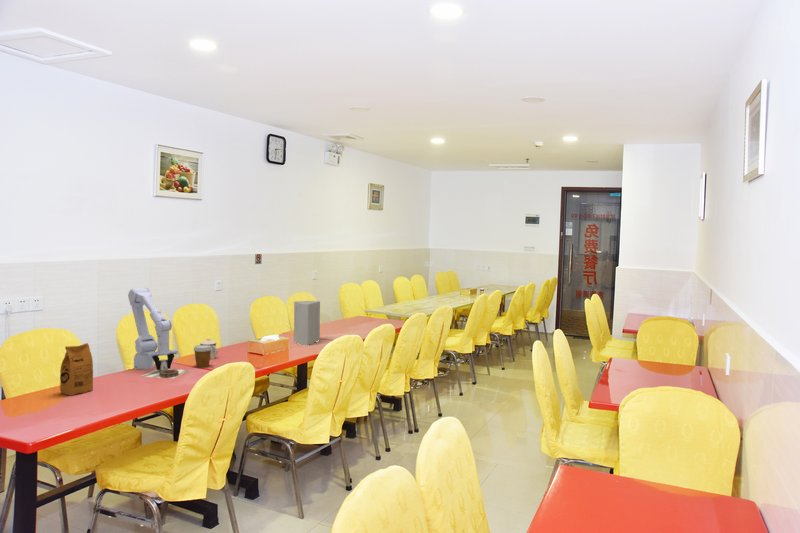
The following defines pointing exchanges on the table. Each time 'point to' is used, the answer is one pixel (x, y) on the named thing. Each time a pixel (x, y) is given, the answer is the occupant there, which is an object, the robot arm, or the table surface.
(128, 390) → the table surface
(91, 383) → the coffee package
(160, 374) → the ring collar
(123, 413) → the table surface
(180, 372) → the plate
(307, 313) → the grey block
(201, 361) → the disposable coffee cup
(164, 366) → the piston
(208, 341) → the teacup with lid
